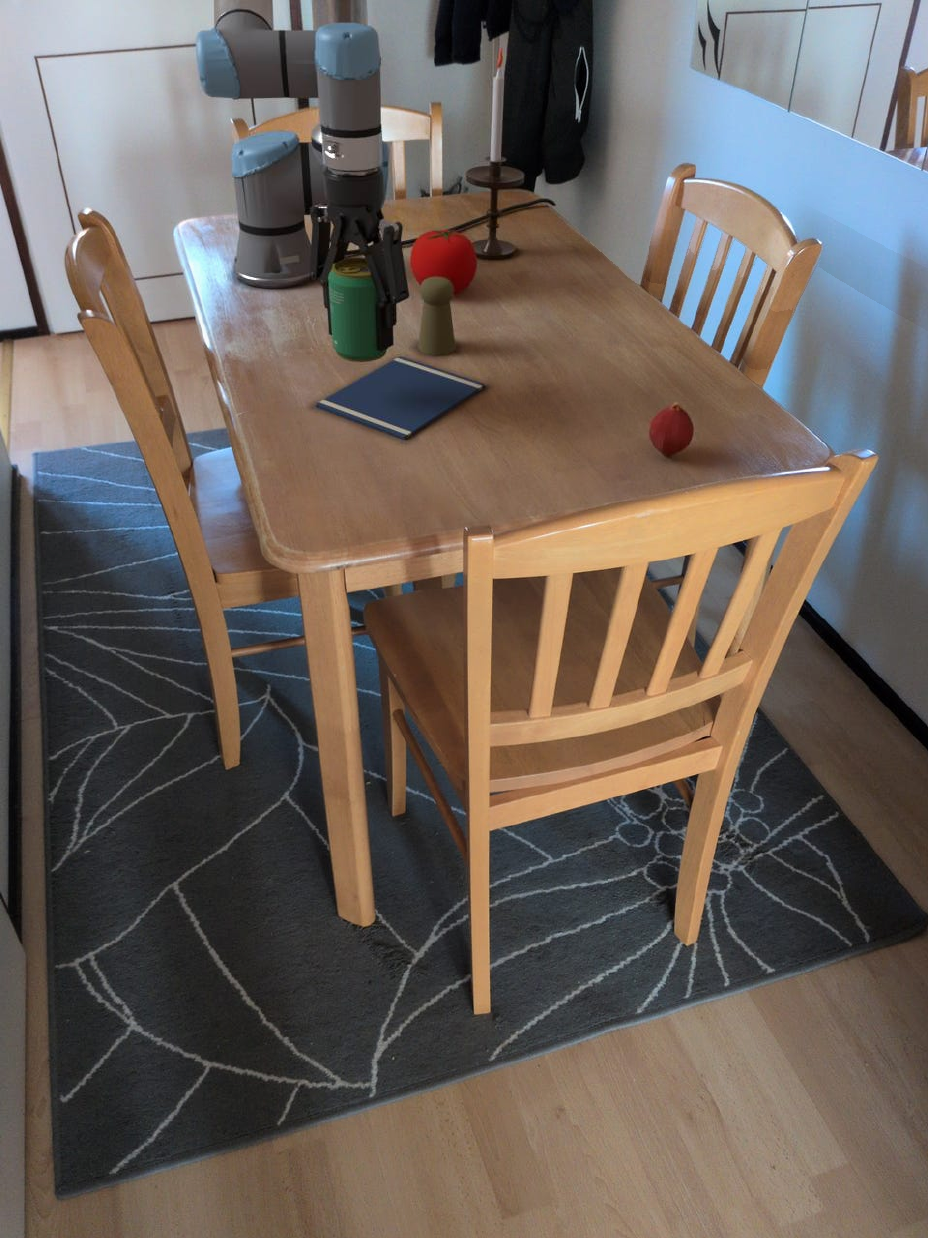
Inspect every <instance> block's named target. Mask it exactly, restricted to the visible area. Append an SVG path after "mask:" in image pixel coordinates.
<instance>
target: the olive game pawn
mask: <svg viewBox="0 0 928 1238" xmlns="http://www.w3.org/2000/svg"><path fill="white" fill-rule="evenodd" d="M453 293H454V288H453V285H452V283H451V281H450V280H448V279H446V278H443V277H430V278H427V279H425V280H424V281H423V282H422V284H421V286H420V289H419V294H420V298H421V299H422V300H423V306H422V312H421V313H422V314H421V319H420V329H419V337H418V342H417V343H418V345H417V349H418V351H420V352H421V353H423V354H426V355H429V356H445V355H448V354H451V353H453V352H454V351H455V350H456V341H455V332H454V323H453V316H452V308H451V301H452V299H453V298H454V295H453Z"/></svg>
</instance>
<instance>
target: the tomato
mask: <svg viewBox="0 0 928 1238" xmlns="http://www.w3.org/2000/svg"><path fill="white" fill-rule="evenodd" d="M455 230H456V229H455ZM416 238H417V240H416V241H415V243H413V245H412V248H411V250H410V255H409V263H410V270H411V273H412V275H413V278H414V280H415V282H417V283H418V285H419V286H420V287H421V284H422V282H423V281H424V280H425V279H427V278H430V277H443V278H446V279H448V280H450V281H451V283H452V285H453V288H454V293H453V296H454V295H458V294H460V293H462V292H463V291H465V290H466V289H468V287H470V285H471V284H472V282H473V281H474V278H475V275H476V272H477V267H478V258H476V253H475V250H474V247H473V245H472V243H473V242H472V241H471V240H470V239H469V238H468V237H467V236H466V235H464V234H462V233H460V232H458V231H454V230H451V231H450V230H447V229H440V230H430V231H426V232H424V233H422V234H420V235H419V236H418V237H416Z"/></svg>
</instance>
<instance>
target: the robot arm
mask: <svg viewBox="0 0 928 1238" xmlns="http://www.w3.org/2000/svg"><path fill="white" fill-rule="evenodd" d="M311 15H312V28H313V29H311V30H310V29H308V30H307V29H304V30H303V29H301V30H300V29H296V30H294V29H293V30H292V29H291V30H290V29H288V30H286V29H275V26H274V24H275V23H274V1H273V0H213V28H211V29H205V30H200V31H199V32H198V33H197V35H196V37H195V53H196V54H195V55H196V64H197V65H196V66H197V71H198V77H199V78H198V79H199V82H200V86H201V90H202V91H203V93H204V94H205V95H206V96H208V97H210V98H219V99H232V100H234V101H235V100H237V101H238V100H248V99H249V100H250V99H252V100H253V99H284V98H285V99H317V110H318V122H317V124H316V125H315V126H314V127H313V128H311V132H310V138H311V141H305V142H303V141H302V142H301V141H300V138H299V135H298V134H297V132H295V131H292V130H283V129H282V130H270V131H263V132H258V133H254V134H251V135H248V136H246V137H243V138H241V139H240V140H239V141H237V142H235V144H234V145H233V146H232V149H231V153H230V154H231V157H230V158H231V168H232V169H231V176H232V177H233V183H234V184H233V185H234V193H235V202H236V203H235V204H236V211H237V220H238V228H239V233H238V239H237V245H236V256H235V257H234V259H233V272H234V277H235V278H236V280H238V281H239V282H241V283H242V284H245V285H248V286H251V287H256V288H264V289H282V288H283V289H284V288H290V287H292V288H293V287H295V286H300V285H303V284H307V283H309V282H311V281H312V280H313V281H315V280H317V282H319V285H320V286H321V287H322V296H323V297H322V298H323V306H324V309H326V310H327V323H328V324H327V325H328V335H330V336H332V327H331V312H330V297H329V281H328V275H329V273H330V271H331V270H332V265H333V264H334V263H335V262H338V261H340V260H342V259H346V256H352V255H353V256H354V255H359V254H361V255H363V256H364V258H365V259H366V261H367V264H368V267H369V270H370V273H371V276H372V279H373V282H374V284H375V287H376V290H377V293H378V296H379V299H380V302H379V303H377V304H376V330H377V350H378V351H381V352H382V351H383V350H385V349H387V348H388V349H390V348H391V347H393V346H394V344H395V343H394V326H396V325H397V323H398V318H397V317H398V315H397V314H398V312H397V304H399V303H402V302H403V301H405V300H407V299H409V298H410V291H409V285H408V277H407V271H406V270H407V269H406V265H405V257H404V250H403V246H407V245H411V244H414V243H415V241H416V240H417V238H418V237H414V238H411V239H406V240H405V239H404V240H402V238H403V230H404V226H403V224H402V222H400V221H396V222H391V221H389V220H388V219H385V216H384V213H383V211H382V208H383V207H384V204H385V200H386V196H387V190H388V180H389V162H390V161H389V160H390V153H389V145H388V143H387V142H386V141H384V140H383V130H382V104H381V103H382V99H381V98H382V95H381V94H382V92H381V91H382V90H381V87H382V86H381V65H382V57H381V51H380V40H379V33H378V31H377V30H376V29H375V28H374V27H373V26H372V25H369V23H368V22H369V21H368V0H311ZM541 203H547V204H549V205H550V206H552V207H556V206H557V204H556V203H555V201H553V199H550V198H545V197H544V198H538V199H534V200H531V201H528V202H524V203H518V204H515V205H511V206H507V207H505V208H502V209H499V210H500V211H501V214H500V215H502V214H504V213H507V212H511V211H514V210H519V209H523V208H528V207H531V206H534V205H538V204H541ZM305 216H310V220H311V225H312V226H311V240H310V237H309V236H308V232H307V230H306V221H305V220H306V219H305ZM485 220H489V217H488V216H487V214H485V215H482V216H480V217H477V218H475V219H472V220H469V221H466V222H464V223H461V224H459V225H456V226H452V227H450V228H447V229H446V230H450V231H451V230H454V231H455V232H458V231H460V230H462V229H464V228H467V227H469V226H472V225H475V224H477V223H481V222H482V221H485ZM332 226H333V227H332ZM455 229H456V230H455ZM371 243H372V244H371ZM350 244H353V245H355V246H356V247H358V249H350V250H349V245H350ZM387 292H388V294H387ZM388 349H387V350H388Z"/></svg>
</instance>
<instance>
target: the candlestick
mask: <svg viewBox="0 0 928 1238" xmlns="http://www.w3.org/2000/svg"><path fill="white" fill-rule="evenodd" d="M503 49H504V48H503V47H501V50H500V51H499V52H498V57H499V58H498V59H497V63H496V64H497V72H496V75H495V76H493V81H492V82H493V84H492V89H493V90H492V108H491V109H492V110H491V111H492V113H491V114H492V115H491V135H490V136H491V137H490V142H491V143H490V156H486V157H485V158H484V159H485V161H487V162H489V165H481V166H475V167H471V168H469V169H468V170H467V171H465V181H466V182H467V183H468V184H470V185H472V186H474V187H480V188H484V189H489V190H490V204H489V205H490V206H489V208H487V209H486V212H485V213H486V214H485V215H487V216H488V217H489V218H488V222H487V223H486V228H488V237H487V238H486V239H480V240H475V241H473V242H471V243H472V245H473V247H474V250H475V253H476V258H477V259H480V260H485V261H502V260H507V259H508V260H509V259H511V258H513V257H514V256H515V254H516V246H515V244H513V243H511V242H509V241H506V240H502V239H498V237H497V229H499V228H500V224H499V223H498V219H499V218H500V217H501V215H502V214H501V211H500V210H501V209H500V208H498V202H499V201H498V200H499V190H501V189H510V188H516V187H518V186H521V185H523V184H524V182H525V173H524V172H523V171H521V170H520V169H517V168H515V167H511V166H504V165H502V162H506V161H507V158H506V157H504V156H502V140H503V139H502V136H503V118H504V117H503V114H504V113H503V112H504V93H505V92H504V91H505V77H504V76H503V75H502V64H503V59H504V55H503Z"/></svg>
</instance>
